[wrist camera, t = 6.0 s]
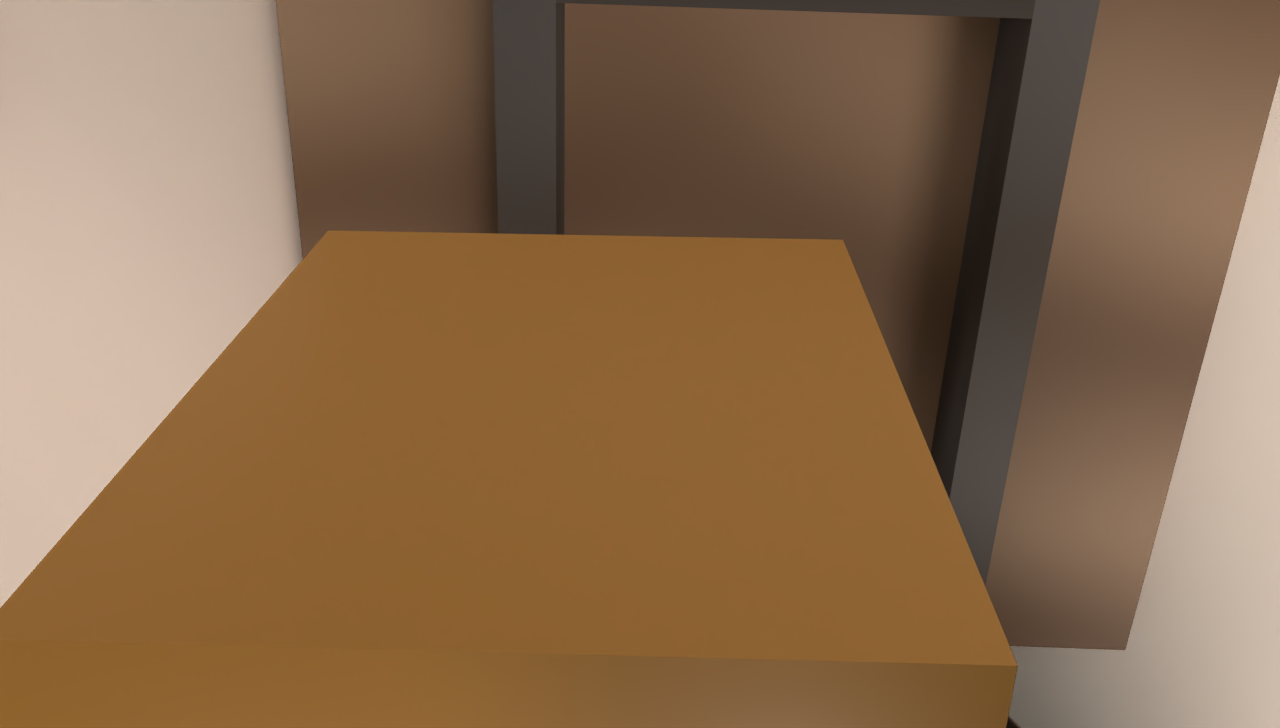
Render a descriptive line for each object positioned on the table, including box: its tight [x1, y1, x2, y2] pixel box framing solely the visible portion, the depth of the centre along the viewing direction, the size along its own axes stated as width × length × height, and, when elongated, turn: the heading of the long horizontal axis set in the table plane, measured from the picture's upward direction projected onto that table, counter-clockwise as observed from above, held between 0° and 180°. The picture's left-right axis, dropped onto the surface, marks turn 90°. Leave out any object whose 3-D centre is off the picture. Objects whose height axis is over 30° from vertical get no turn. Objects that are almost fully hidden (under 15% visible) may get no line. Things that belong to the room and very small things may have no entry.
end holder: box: [276, 0, 1280, 650], centre depth 17 cm, size 14×14×2 cm
